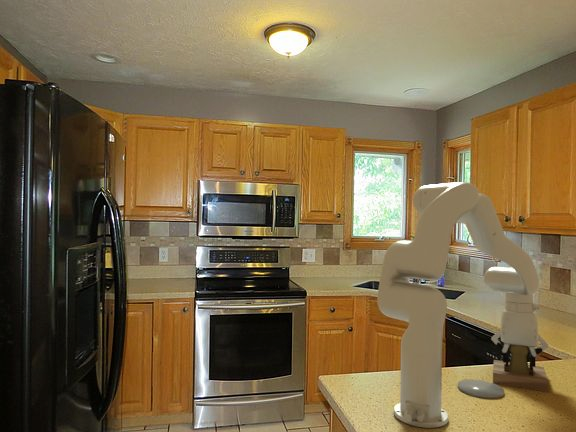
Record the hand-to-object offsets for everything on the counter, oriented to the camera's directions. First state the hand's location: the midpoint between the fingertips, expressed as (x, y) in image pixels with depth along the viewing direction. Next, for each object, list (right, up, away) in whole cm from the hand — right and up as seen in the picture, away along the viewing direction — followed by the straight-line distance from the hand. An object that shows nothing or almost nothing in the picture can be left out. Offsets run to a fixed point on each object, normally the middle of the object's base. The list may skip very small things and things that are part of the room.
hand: (518, 366), depth 128 cm
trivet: (-16, -4, -9) cm, 18 cm away
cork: (0, -4, 0) cm, 4 cm away
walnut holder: (0, -4, 0) cm, 4 cm away
